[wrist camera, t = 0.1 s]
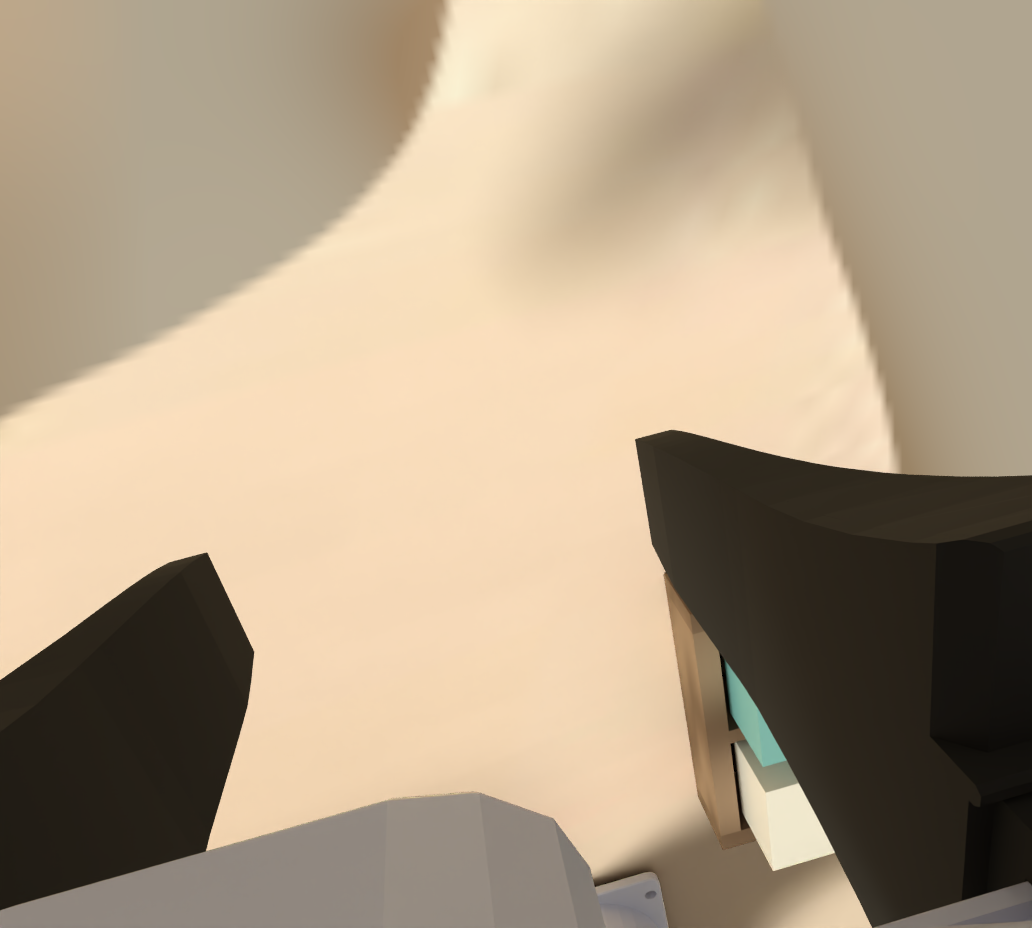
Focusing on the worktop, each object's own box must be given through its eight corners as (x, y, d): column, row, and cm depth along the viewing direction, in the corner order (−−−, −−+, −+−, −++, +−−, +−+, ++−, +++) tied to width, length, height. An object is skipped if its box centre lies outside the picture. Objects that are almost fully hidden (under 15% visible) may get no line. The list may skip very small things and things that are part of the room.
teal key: (835, 682, 25) (878, 733, 23) (730, 712, 25) (762, 767, 22) (832, 592, 23) (878, 637, 21) (719, 623, 23) (753, 672, 21)
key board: (837, 756, 29) (873, 805, 27) (698, 796, 29) (723, 850, 27) (829, 528, 25) (872, 564, 22) (663, 573, 24) (690, 614, 22)
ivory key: (839, 783, 27) (879, 839, 25) (742, 812, 27) (772, 871, 25) (836, 707, 25) (878, 759, 23) (733, 736, 25) (765, 793, 23)
